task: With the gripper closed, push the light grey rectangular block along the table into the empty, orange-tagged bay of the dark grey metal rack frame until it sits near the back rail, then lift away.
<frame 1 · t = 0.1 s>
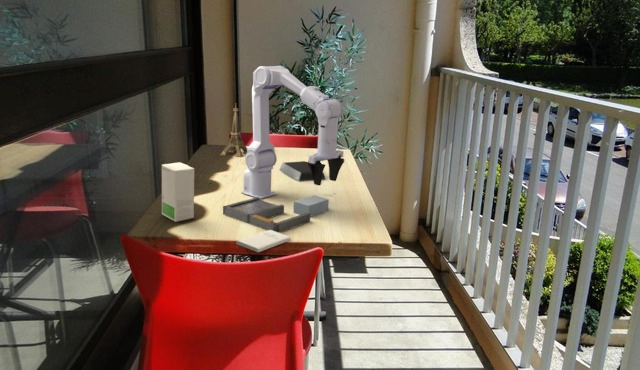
hand: (325, 182, 167), 10 cm above the table, tool pointing down, fingers open, 7 cm apart
external hard drive: (301, 176, 215), on the table
skincare box: (178, 217, 160), on the table
rack: (267, 217, 163), on the table
light grey rectangular block: (310, 212, 170), on the table
external hard drive 2: (263, 244, 144), on the table
eiffel tower: (235, 154, 246), on the table
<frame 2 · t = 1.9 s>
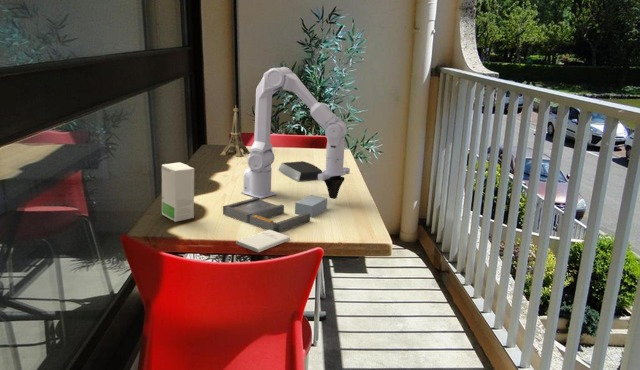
hand: (332, 198, 178), 2 cm above the table, tool pointing down, fingers closed
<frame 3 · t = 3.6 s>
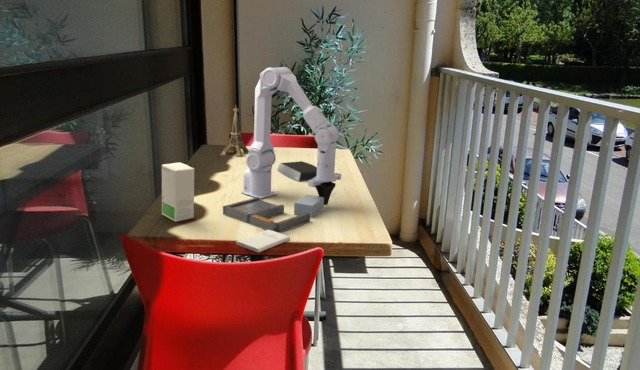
hand: (323, 204, 175), 1 cm above the table, tool pointing down, fingers closed
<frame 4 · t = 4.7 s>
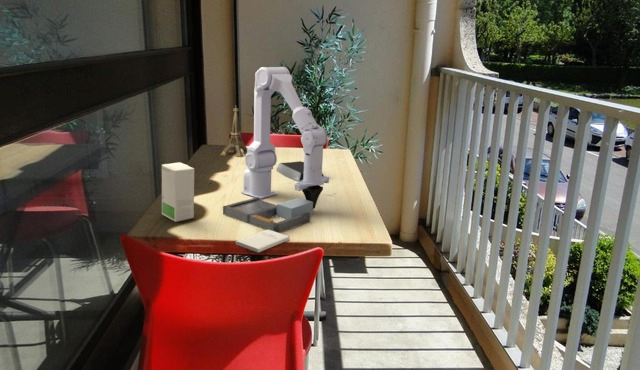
hand: (311, 208, 170), 1 cm above the table, tool pointing down, fingers closed
light grey rectangular block: (294, 215, 166), on the table, touching gripper
everything else where it was.
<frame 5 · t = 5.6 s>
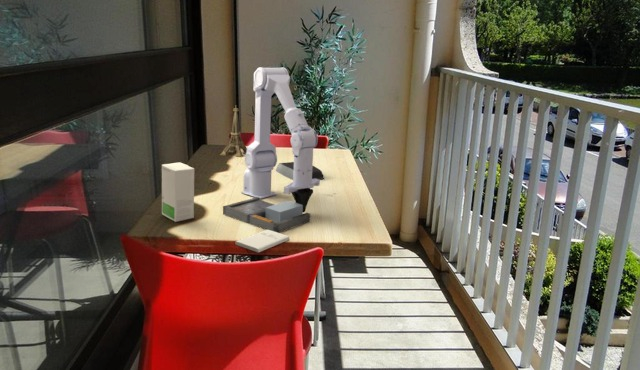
hand: (301, 211, 166), 1 cm above the table, tool pointing down, fingers closed
light grey rectangular block: (284, 218, 163), on the table
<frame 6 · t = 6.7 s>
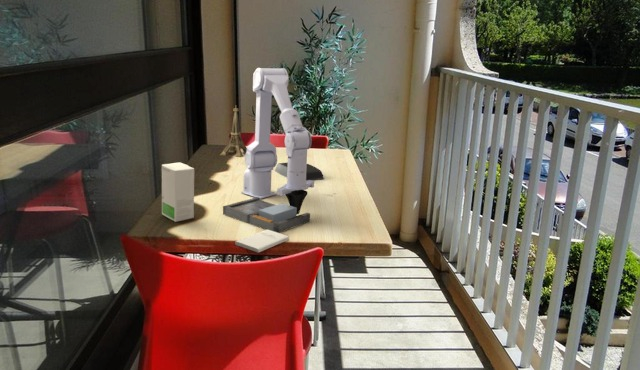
hand: (295, 213, 164), 1 cm above the table, tool pointing down, fingers closed
light grey rectangular block: (277, 221, 161), on the table
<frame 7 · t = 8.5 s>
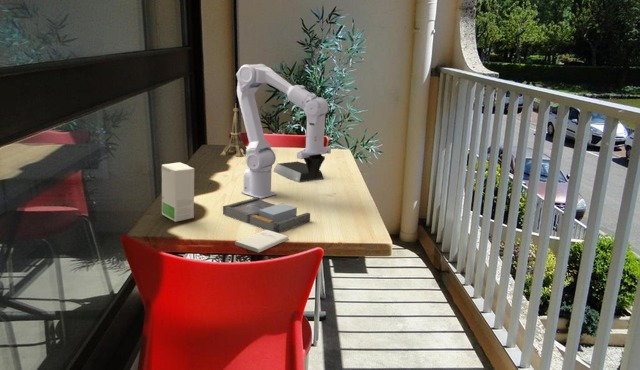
hand: (313, 177, 174), 9 cm above the table, tool pointing down, fingers closed
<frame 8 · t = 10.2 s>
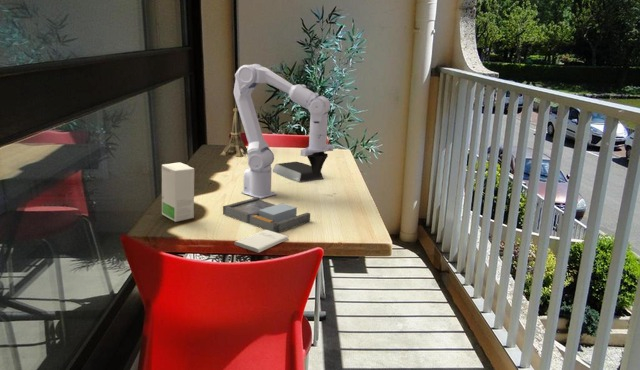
hand: (316, 174, 178), 9 cm above the table, tool pointing down, fingers closed
at the end: light grey rectangular block 1.2 cm from the target spot on the rack, point 0.0 cm above the rack's base; light grey rectangular block tilted 0° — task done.
